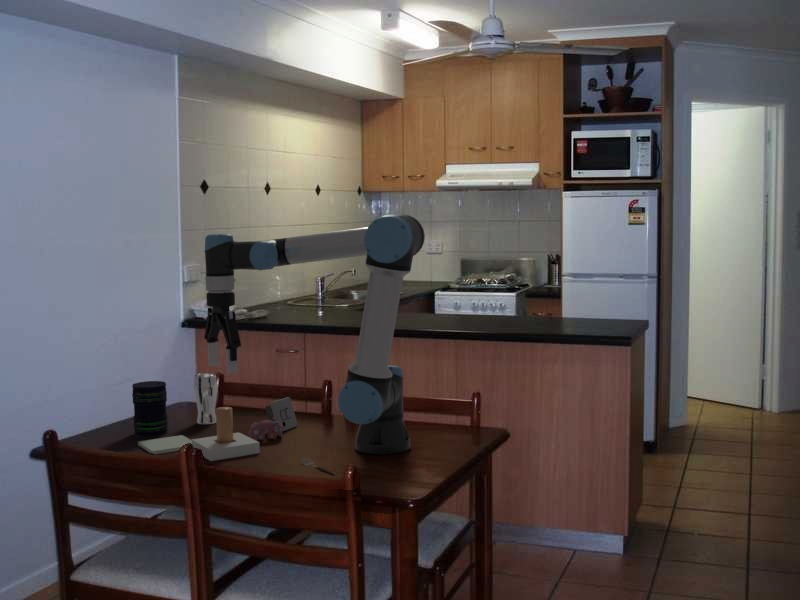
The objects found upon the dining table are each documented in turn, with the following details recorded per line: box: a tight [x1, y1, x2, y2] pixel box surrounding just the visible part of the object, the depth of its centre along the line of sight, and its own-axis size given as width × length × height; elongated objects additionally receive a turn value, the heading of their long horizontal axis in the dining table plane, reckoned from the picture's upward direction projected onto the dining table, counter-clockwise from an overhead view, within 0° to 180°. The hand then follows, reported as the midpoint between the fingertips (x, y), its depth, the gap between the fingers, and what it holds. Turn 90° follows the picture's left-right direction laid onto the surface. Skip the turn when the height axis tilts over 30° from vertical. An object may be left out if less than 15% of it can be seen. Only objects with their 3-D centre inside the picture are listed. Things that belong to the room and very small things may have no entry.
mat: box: [137, 434, 192, 455], centre depth 263 cm, size 13×13×1 cm
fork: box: [300, 454, 336, 476], centre depth 238 cm, size 3×16×2 cm, turn 34°
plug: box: [215, 406, 234, 444], centre depth 256 cm, size 4×4×12 cm
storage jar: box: [131, 380, 169, 439], centre depth 278 cm, size 10×10×15 cm
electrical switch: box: [264, 396, 298, 432], centre depth 282 cm, size 9×5×9 cm, turn 152°
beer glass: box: [193, 372, 218, 425], centre depth 291 cm, size 7×7×15 cm
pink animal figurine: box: [247, 419, 284, 441], centre depth 269 cm, size 10×5×7 cm, turn 106°
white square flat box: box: [191, 432, 261, 462], centre depth 256 cm, size 14×14×3 cm
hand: (222, 369), depth 254 cm, fingers open, 13 cm apart
